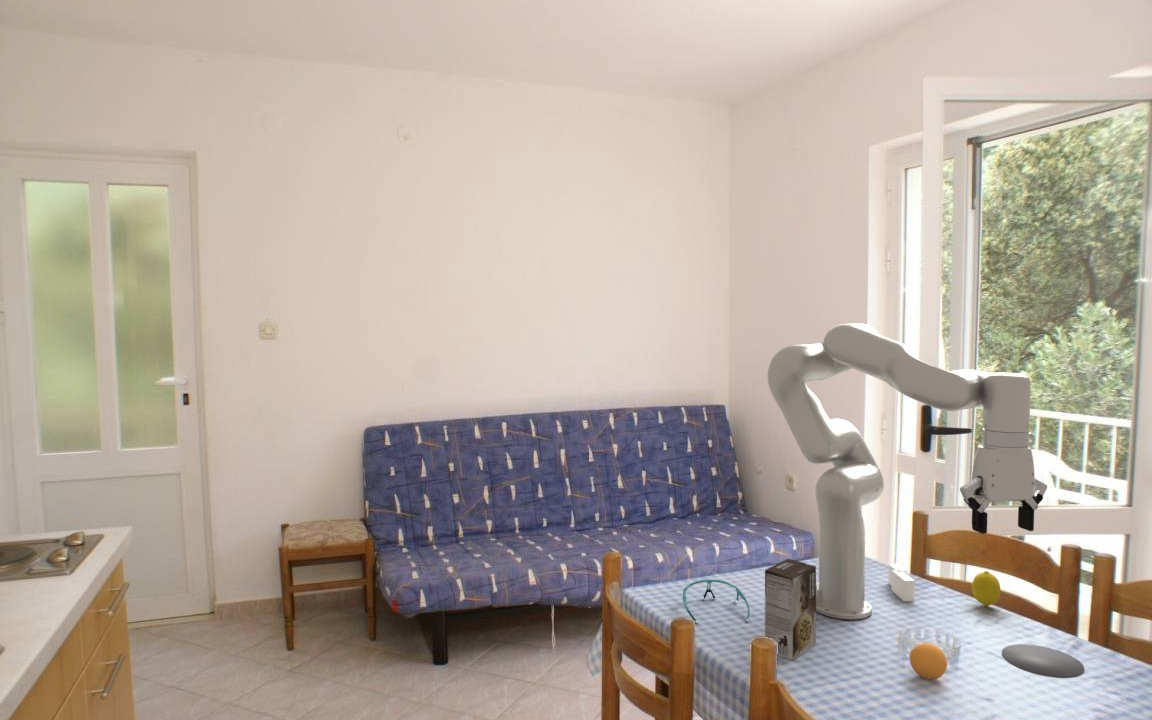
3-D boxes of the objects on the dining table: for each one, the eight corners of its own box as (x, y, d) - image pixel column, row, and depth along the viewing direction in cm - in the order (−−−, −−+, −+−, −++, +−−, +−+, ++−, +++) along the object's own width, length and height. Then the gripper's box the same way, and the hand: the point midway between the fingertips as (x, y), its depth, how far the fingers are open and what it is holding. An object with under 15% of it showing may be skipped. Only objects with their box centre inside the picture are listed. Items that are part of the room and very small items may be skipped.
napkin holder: (919, 609, 165) (920, 584, 165) (867, 597, 172) (867, 573, 172) (936, 590, 177) (937, 566, 176) (887, 579, 184) (887, 557, 183)
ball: (910, 682, 131) (911, 649, 130) (908, 667, 136) (908, 635, 136) (948, 688, 129) (949, 654, 128) (944, 672, 134) (945, 640, 134)
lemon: (1003, 612, 161) (1004, 576, 161) (976, 610, 162) (977, 574, 162) (995, 603, 167) (995, 567, 166) (968, 601, 168) (968, 566, 167)
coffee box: (787, 636, 150) (787, 557, 149) (817, 646, 145) (817, 565, 145) (763, 650, 144) (763, 568, 143) (793, 661, 139) (793, 576, 138)
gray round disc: (1008, 670, 135) (1009, 669, 135) (996, 641, 147) (996, 640, 147) (1093, 682, 130) (1093, 681, 130) (1073, 651, 142) (1073, 650, 142)
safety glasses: (738, 598, 171) (739, 578, 171) (755, 632, 157) (756, 610, 156) (677, 599, 171) (678, 579, 170) (689, 633, 156) (690, 611, 155)
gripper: (1031, 435, 143) (1028, 522, 144) (949, 437, 140) (947, 527, 141) (1062, 441, 136) (1059, 533, 137) (977, 444, 133) (974, 538, 134)
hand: (1002, 530), depth 139 cm, fingers open, 9 cm apart
